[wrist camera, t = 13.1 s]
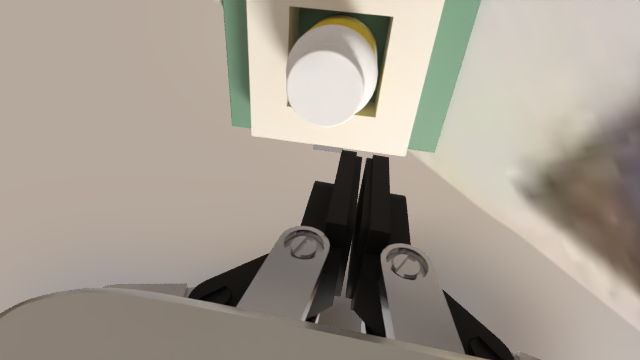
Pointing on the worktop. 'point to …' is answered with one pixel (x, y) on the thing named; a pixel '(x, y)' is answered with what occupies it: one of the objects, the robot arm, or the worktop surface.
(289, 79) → the supplement bottle
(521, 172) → the worktop surface
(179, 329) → the robot arm
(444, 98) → the board
